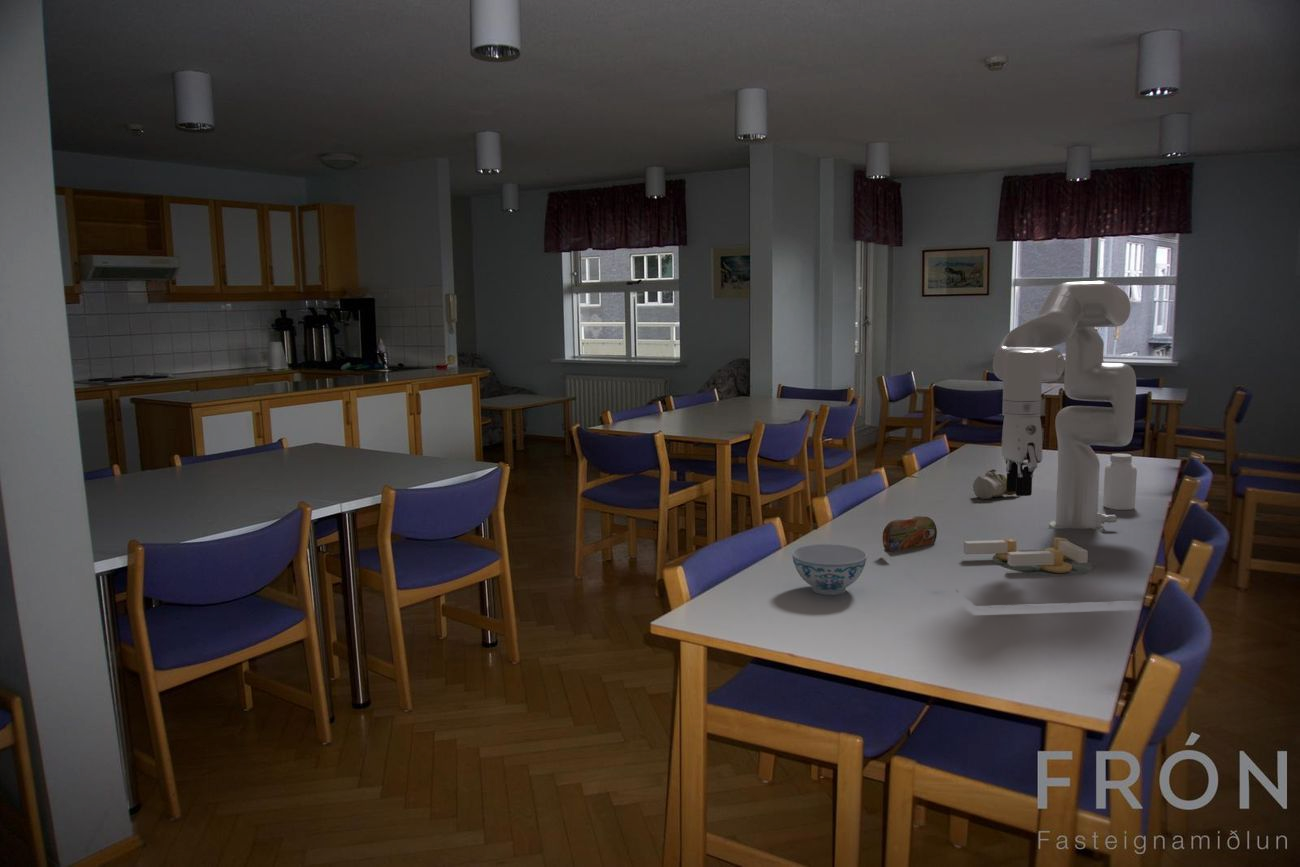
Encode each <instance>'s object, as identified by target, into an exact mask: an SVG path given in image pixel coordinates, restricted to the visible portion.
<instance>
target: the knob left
mask: <svg viewBox="0 0 1300 867" xmlns="http://www.w3.org/2000/svg"><path fill="white" fill-rule="evenodd" d="M1017 544H1018V542H1017V539H1014V538H1013V539H1012V538H1006V539H995V540H994V539H993V540H970V541H969V540H966V541H963V553H964V554H965V555H987V554H989V555H993V554H994V555H995V557H996V558H998V559H1001V560H1007V561H1008V552H1021V551H1018V550H1019V549H1017Z"/></svg>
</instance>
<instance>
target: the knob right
mask: <svg viewBox="0 0 1300 867" xmlns="http://www.w3.org/2000/svg"><path fill="white" fill-rule="evenodd" d="M1050 550H1061V551H1063V559H1072V560H1074V561H1076V562H1078V563H1087V561H1088V557H1089V551H1088V550H1086V549H1084V548H1082V547H1081V546H1079V545H1077V544H1074V543H1072V542H1071V541H1069V540H1068V539H1067V538H1065V537H1059V536H1058V537H1053V547H1047V548H1045V550H1044V551H1050Z"/></svg>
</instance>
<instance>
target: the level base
mask: <svg viewBox="0 0 1300 867" xmlns="http://www.w3.org/2000/svg"><path fill="white" fill-rule="evenodd" d="M1017 550H1018V551H1021V552H1031V551H1045V550H1044V549H1043V550H1042V549H1017ZM992 560H993V562H994V564H996V565H998V566H1000V567H1002V568H1005V569H1009V570H1012V571H1014V572H1015V571H1016V572H1021V573H1024V574H1025V573H1026V574H1032V575H1040V576H1073V575H1075V576H1076V575H1080V574H1081V575H1082V574H1085V573H1087V572H1090V571H1092V569H1093V564H1092V563H1091V562H1090V561H1089V560H1087V563H1078V562H1076V561H1074V560H1072V559H1063V562H1067V563H1069V564H1071V565H1072V571H1071V572H1068V573H1053V572H1048V571H1044V570H1042V569H1041V565H1031V566H1010V565H1009V564H1008V561H1007V560H1001V559H998V558H996V557H995V554H994V555H993V556H992Z"/></svg>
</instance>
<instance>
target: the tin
mask: <svg viewBox="0 0 1300 867" xmlns="http://www.w3.org/2000/svg"><path fill="white" fill-rule="evenodd" d="M937 534H938V530H937V525H936V523H935V522H934V520H933V519H932V518H930V517H929V516H922V515H917V516H911V517H905V518H900V519H894V520H891V521H889V523H887V525H885V527H884V529H883V532H882V545H883V548H884V550H886V551H889V552H892V553H893V552H896V551H901V550H906V549H911V548H916V547H922V546H926V545H934V544H936V540H937V537H938V536H937Z"/></svg>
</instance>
